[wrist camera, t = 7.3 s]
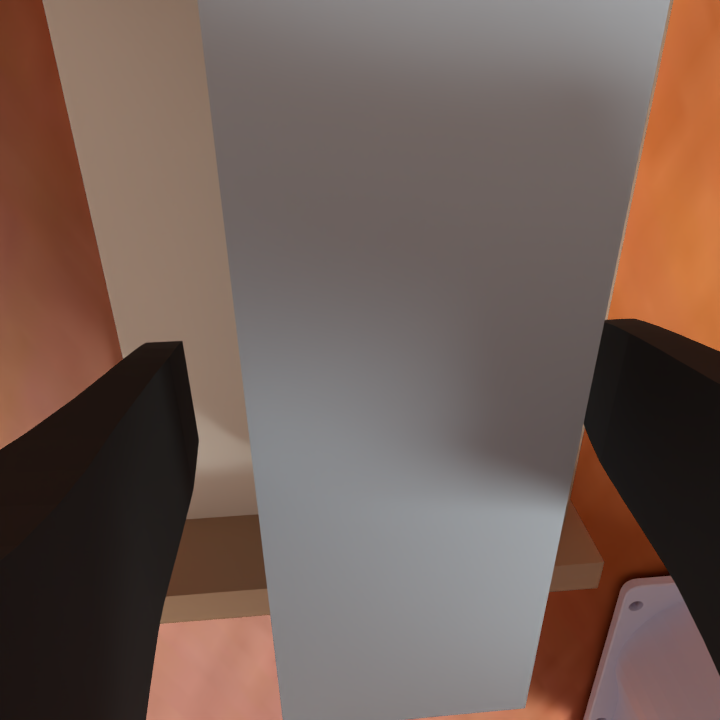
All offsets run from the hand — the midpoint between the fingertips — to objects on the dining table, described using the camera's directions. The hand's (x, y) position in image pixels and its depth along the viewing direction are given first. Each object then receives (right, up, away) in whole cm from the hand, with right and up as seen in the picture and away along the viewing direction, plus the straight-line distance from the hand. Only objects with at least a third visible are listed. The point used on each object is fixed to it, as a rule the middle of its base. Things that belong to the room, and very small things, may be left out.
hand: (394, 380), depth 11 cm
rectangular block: (0, +2, +2) cm, 3 cm away
